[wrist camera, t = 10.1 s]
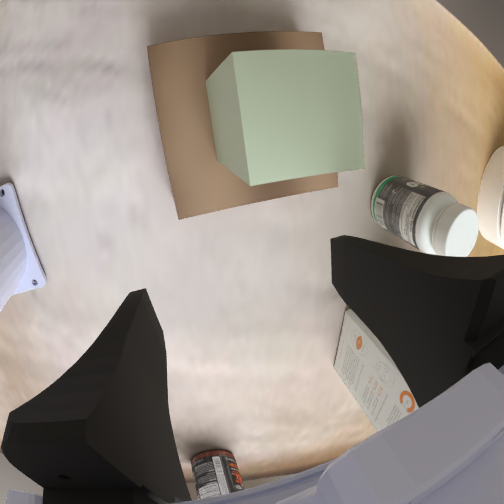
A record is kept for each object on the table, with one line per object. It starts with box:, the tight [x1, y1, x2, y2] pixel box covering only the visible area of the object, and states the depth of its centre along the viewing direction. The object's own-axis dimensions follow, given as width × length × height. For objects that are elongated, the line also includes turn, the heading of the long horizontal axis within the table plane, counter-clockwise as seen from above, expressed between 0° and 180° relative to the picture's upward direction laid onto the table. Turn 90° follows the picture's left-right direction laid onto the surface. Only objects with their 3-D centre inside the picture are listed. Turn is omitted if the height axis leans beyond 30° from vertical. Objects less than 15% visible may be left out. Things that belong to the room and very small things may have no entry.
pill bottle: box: [371, 176, 479, 257], centre depth 20 cm, size 5×5×8 cm
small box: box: [334, 309, 419, 432], centre depth 24 cm, size 8×6×13 cm
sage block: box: [206, 49, 365, 186], centre depth 12 cm, size 4×4×7 cm
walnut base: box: [147, 31, 338, 220], centre depth 17 cm, size 10×10×3 cm
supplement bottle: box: [191, 450, 245, 499], centre depth 28 cm, size 6×6×11 cm
